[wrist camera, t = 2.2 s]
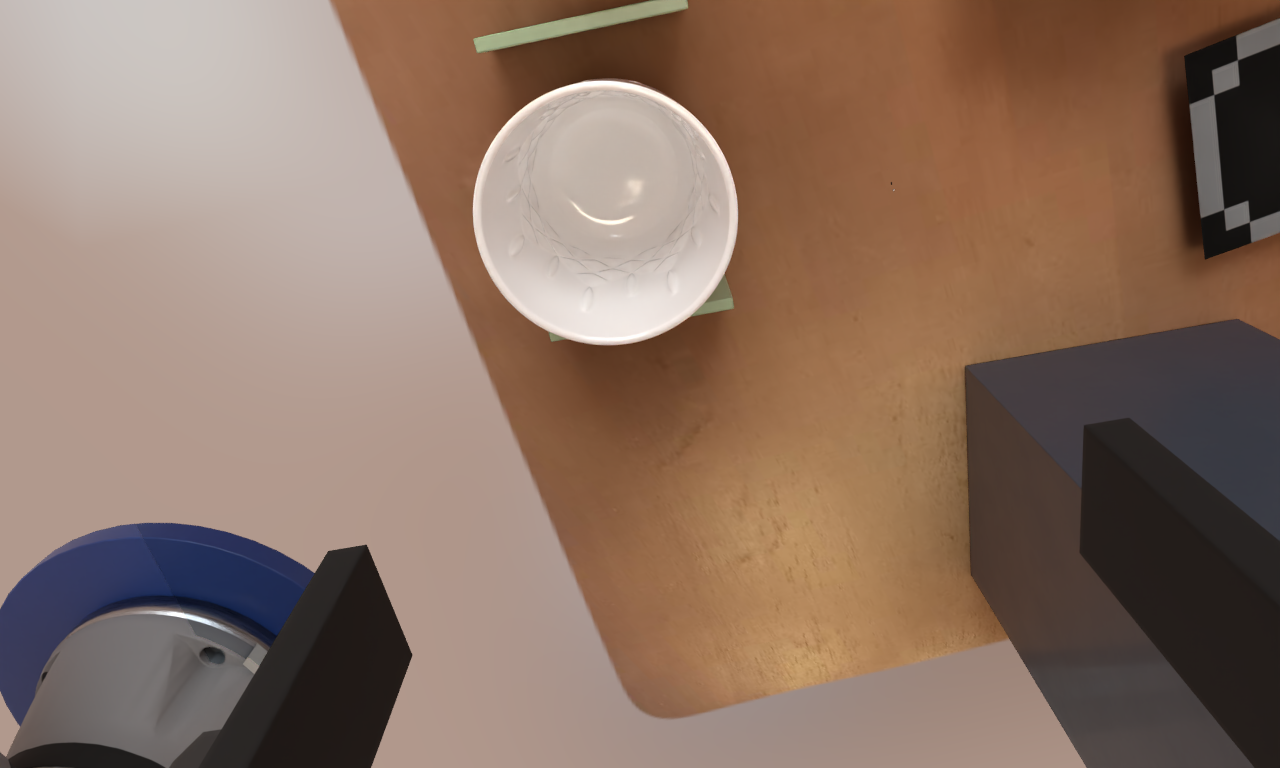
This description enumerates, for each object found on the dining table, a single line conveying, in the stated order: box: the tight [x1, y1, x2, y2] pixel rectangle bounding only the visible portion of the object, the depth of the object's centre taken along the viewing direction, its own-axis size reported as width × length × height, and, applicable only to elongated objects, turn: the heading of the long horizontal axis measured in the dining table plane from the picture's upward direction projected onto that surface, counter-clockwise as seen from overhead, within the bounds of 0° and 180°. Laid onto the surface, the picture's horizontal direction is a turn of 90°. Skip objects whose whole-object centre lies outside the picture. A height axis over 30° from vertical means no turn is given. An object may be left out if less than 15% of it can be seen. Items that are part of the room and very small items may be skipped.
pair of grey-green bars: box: [474, 0, 734, 342], centre depth 31 cm, size 8×12×4 cm, turn 11°
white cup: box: [473, 78, 738, 345], centre depth 28 cm, size 8×8×10 cm
